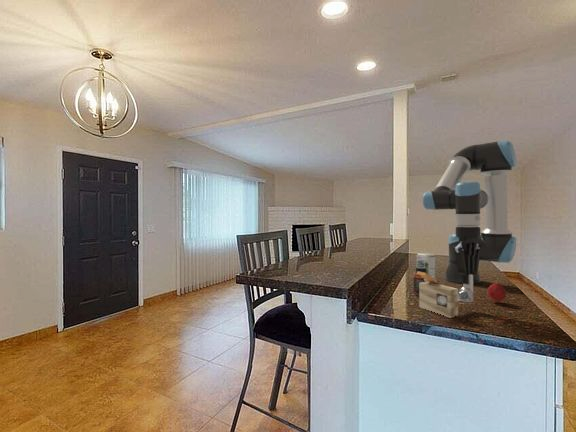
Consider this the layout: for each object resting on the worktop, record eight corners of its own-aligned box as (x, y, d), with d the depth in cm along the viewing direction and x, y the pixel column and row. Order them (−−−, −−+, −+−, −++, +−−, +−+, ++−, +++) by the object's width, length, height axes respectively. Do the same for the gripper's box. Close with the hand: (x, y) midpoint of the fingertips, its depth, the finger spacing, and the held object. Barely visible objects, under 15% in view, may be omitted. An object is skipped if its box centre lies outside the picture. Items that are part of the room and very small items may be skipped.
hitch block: (427, 305, 111) (426, 281, 111) (458, 315, 101) (457, 288, 100) (419, 307, 110) (419, 282, 109) (450, 317, 99) (449, 290, 99)
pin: (459, 299, 109) (459, 286, 109) (473, 303, 105) (473, 289, 105) (434, 305, 104) (434, 291, 103) (448, 310, 99) (448, 294, 99)
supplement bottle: (430, 297, 122) (430, 269, 122) (415, 296, 123) (414, 268, 123) (427, 293, 128) (426, 266, 128) (412, 292, 129) (411, 265, 129)
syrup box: (416, 284, 142) (416, 253, 142) (424, 282, 145) (424, 252, 145) (427, 287, 137) (426, 255, 137) (435, 285, 140) (435, 253, 140)
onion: (489, 299, 117) (489, 278, 117) (507, 302, 113) (507, 281, 113) (485, 302, 113) (485, 281, 113) (504, 306, 109) (504, 284, 109)
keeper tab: (429, 282, 110) (430, 279, 111) (438, 284, 107) (439, 281, 107) (416, 273, 107) (417, 270, 107) (424, 275, 104) (426, 272, 104)
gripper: (466, 227, 101) (466, 298, 101) (489, 225, 106) (490, 292, 107) (445, 226, 107) (446, 292, 108) (469, 225, 113) (469, 288, 114)
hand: (468, 292), depth 107 cm, fingers closed
